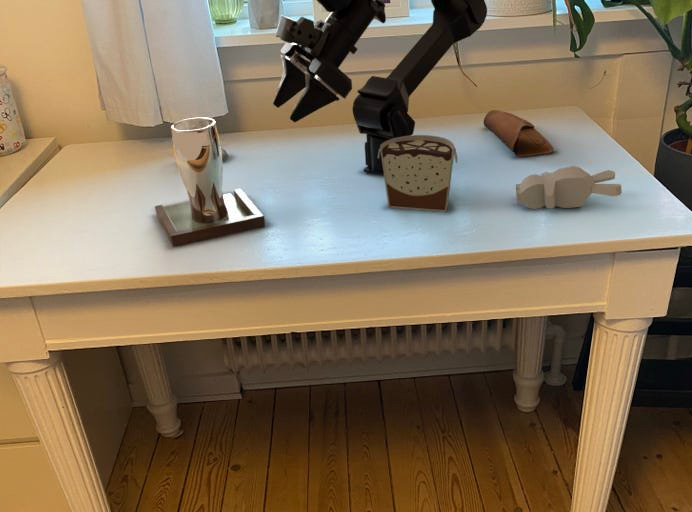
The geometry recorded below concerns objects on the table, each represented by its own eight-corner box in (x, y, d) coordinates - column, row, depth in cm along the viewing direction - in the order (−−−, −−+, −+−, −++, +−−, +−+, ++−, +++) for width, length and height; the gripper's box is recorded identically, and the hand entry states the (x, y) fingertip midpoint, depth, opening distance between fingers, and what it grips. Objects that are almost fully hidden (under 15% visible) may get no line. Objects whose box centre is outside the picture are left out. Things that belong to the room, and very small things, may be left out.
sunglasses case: (558, 150, 135) (543, 120, 131) (525, 173, 136) (508, 144, 133) (523, 121, 150) (508, 94, 146) (493, 143, 151) (477, 116, 147)
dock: (153, 210, 124) (151, 199, 123) (237, 192, 129) (235, 182, 128) (173, 247, 112) (170, 236, 111) (265, 226, 116) (263, 215, 115)
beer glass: (222, 228, 116) (206, 131, 108) (181, 227, 117) (161, 131, 109) (237, 210, 122) (223, 117, 113) (197, 209, 123) (180, 117, 115)
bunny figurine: (513, 168, 119) (612, 155, 116) (515, 198, 122) (612, 186, 119) (517, 190, 111) (624, 177, 108) (519, 222, 114) (623, 210, 111)
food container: (464, 197, 121) (465, 135, 115) (455, 212, 116) (456, 149, 110) (390, 192, 124) (388, 132, 119) (379, 206, 120) (376, 144, 114)
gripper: (286, -15, 119) (229, 69, 122) (325, 1, 104) (259, 95, 107) (336, 31, 125) (281, 110, 128) (380, 52, 110) (316, 140, 114)
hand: (283, 113), depth 119 cm, fingers open, 9 cm apart
